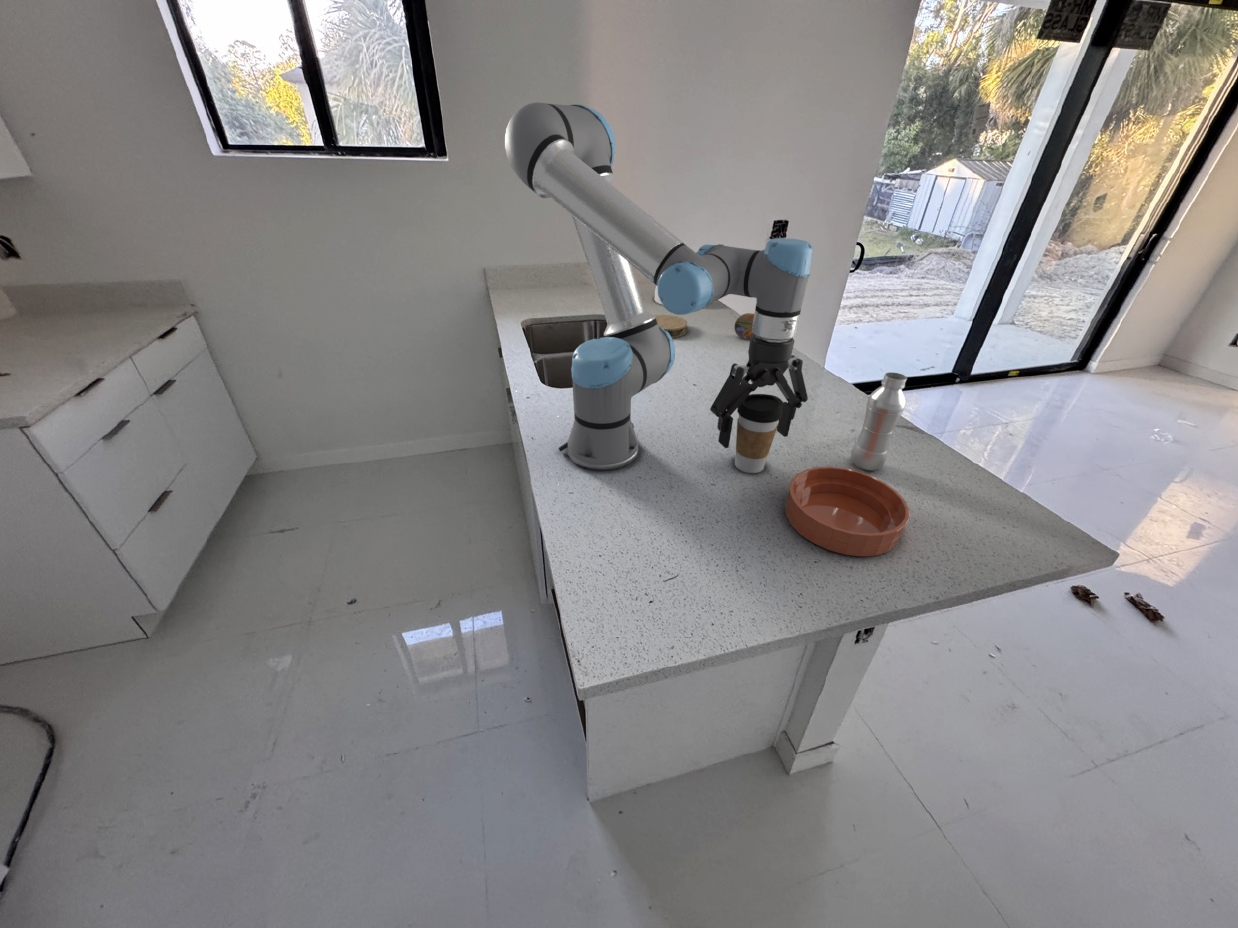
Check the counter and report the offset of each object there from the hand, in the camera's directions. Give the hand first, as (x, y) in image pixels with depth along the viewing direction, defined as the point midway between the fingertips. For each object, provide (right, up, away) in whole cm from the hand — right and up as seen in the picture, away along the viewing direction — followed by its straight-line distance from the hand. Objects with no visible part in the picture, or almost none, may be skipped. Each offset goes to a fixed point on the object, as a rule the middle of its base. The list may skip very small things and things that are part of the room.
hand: (753, 439), depth 98 cm
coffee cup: (0, -5, +4) cm, 7 cm away
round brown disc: (-11, +42, +74) cm, 86 cm away
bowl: (+13, -15, -11) cm, 22 cm away
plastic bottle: (+24, -5, +4) cm, 25 cm away
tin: (+19, +37, +67) cm, 79 cm away
